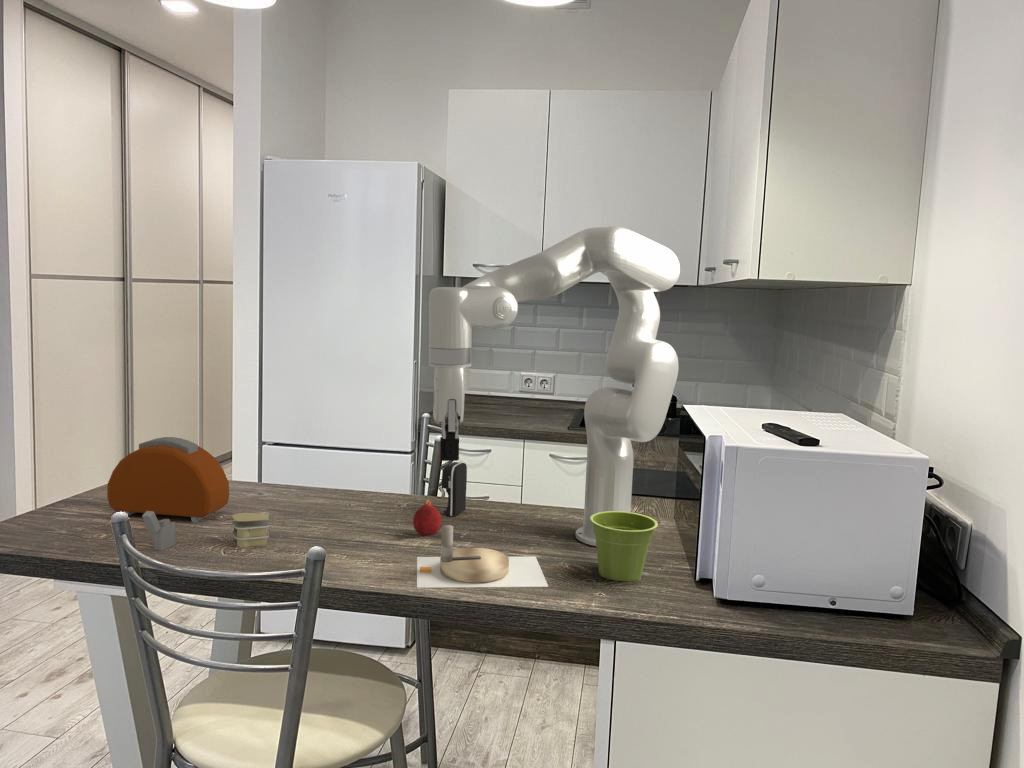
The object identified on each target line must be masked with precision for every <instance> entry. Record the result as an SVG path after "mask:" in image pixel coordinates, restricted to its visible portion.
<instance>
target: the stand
mask: <svg viewBox="0 0 1024 768" xmlns="http://www.w3.org/2000/svg"><path fill="white" fill-rule="evenodd" d="M507 557H508V558H509V571H508V574H507V575H506V576H504V577H503V578H500V579H498V580H494V581H488V582H464V581H458V580H454V579H451V578H448V577H446V576H444V575H443V574H442V573H441V571H440V558H441V556H417V557H416V588H418V589H419V588H420V589H425V588H428V589H433V588H434V589H435V588H437V589H438V588H442V589H443V588H445V589H446V588H452V589H453V588H547V587H549V584H548V581H547V579H546V577H545V575H544V572H543V570H542V568H541V566H540V563H539V562H538V559H537V556H507Z"/></svg>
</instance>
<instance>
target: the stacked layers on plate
mask: <svg viewBox="0 0 1024 768" xmlns="http://www.w3.org/2000/svg"><path fill="white" fill-rule="evenodd" d="M231 517H232V518H233V521H231V525H232V526H233V531H231V535H232V536H233V538H234V539H236V546H237V547H238V546H239V547H238V548H248V547H254V546H267V540H268V538H269V537H270V536H269V535H270V534H269V532H270V530H269V529H268V528H269V524H270V523H269V522H270V520H269V517H270V514H269V513H258V512H238V513H235V514H232V515H231Z"/></svg>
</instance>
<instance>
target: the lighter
mask: <svg viewBox="0 0 1024 768" xmlns="http://www.w3.org/2000/svg"><path fill="white" fill-rule="evenodd" d="M156 515H157V514H155V513H154V512H153V511H146V512H145V513H142V516H141V517H142V520H143V522H144V524H145V527H146V529H147V532H148V533H150V534H151V533H152V534H153V551H160V552H161V551H165V550H167V549H169V548H171V547H173V546H175V545H176V544H177V543H176V522H175V521H174V522H172V521H170V519H169V518H163V519H161V520H158V518H157V516H156Z"/></svg>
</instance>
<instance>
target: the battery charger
mask: <svg viewBox="0 0 1024 768" xmlns="http://www.w3.org/2000/svg"><path fill="white" fill-rule="evenodd" d="M467 474H468V467H467V464H466V463H465V462H463V461H461V462H460V461H459V462H458V461H454V462H453V461H452V462H450V463H448V464H446V465H445V466H444V467H443V468H442V475H441V484H440V485H441V489H444V490H445V493H447V501H448V502H447V506H446V509H444V511H443V515H445V516H450V517H455V516H457V515H459V514H461V513H463V512H464V511H465V510H466V506H467V504H466V502H467V480H468V479H467V478H468V475H467Z"/></svg>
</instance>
